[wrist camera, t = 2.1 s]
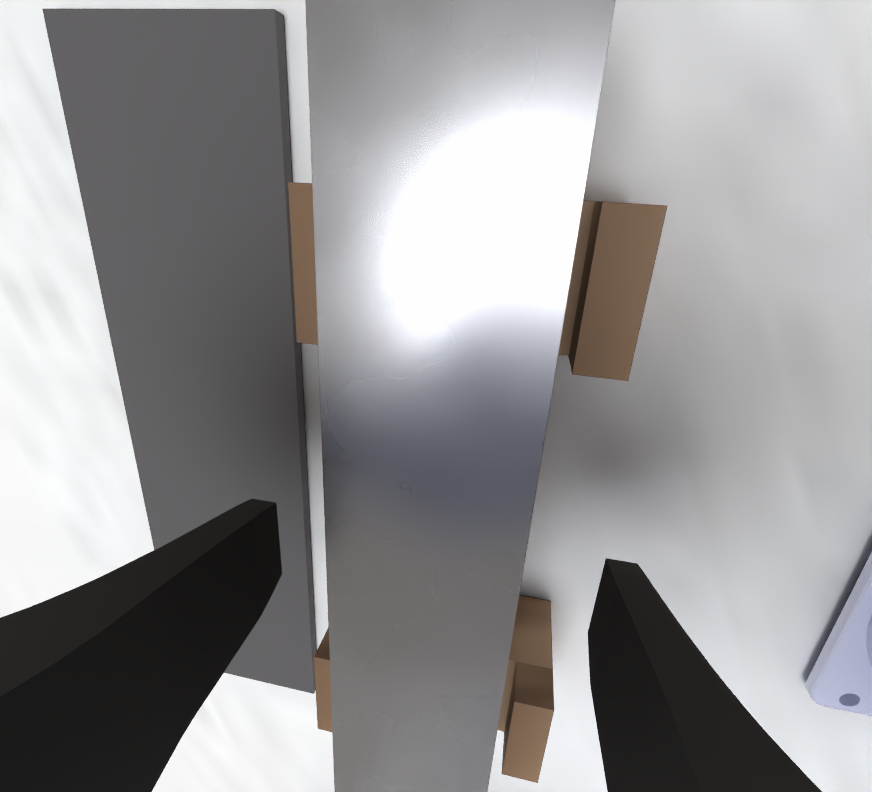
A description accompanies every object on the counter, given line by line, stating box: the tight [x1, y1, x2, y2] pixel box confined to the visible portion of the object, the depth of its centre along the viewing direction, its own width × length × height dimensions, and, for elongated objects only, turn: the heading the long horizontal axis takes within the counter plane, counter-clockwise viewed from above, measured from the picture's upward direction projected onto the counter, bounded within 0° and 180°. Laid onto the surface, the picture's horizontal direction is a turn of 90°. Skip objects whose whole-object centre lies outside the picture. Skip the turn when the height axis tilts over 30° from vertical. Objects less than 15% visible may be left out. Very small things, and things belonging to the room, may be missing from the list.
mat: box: [43, 9, 316, 694], centre depth 16 cm, size 6×22×1 cm, turn 177°
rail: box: [306, 0, 615, 792], centre depth 11 cm, size 4×20×4 cm, turn 177°
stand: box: [288, 182, 667, 783], centre depth 13 cm, size 6×16×4 cm, turn 177°
